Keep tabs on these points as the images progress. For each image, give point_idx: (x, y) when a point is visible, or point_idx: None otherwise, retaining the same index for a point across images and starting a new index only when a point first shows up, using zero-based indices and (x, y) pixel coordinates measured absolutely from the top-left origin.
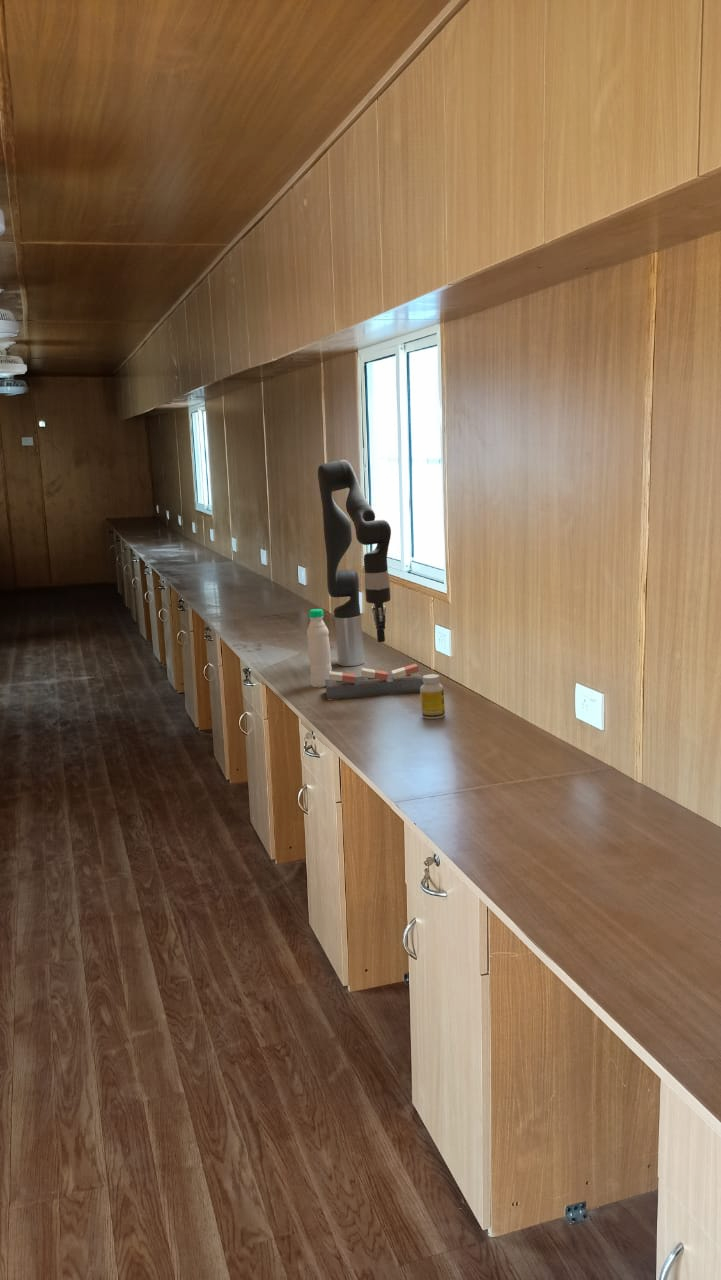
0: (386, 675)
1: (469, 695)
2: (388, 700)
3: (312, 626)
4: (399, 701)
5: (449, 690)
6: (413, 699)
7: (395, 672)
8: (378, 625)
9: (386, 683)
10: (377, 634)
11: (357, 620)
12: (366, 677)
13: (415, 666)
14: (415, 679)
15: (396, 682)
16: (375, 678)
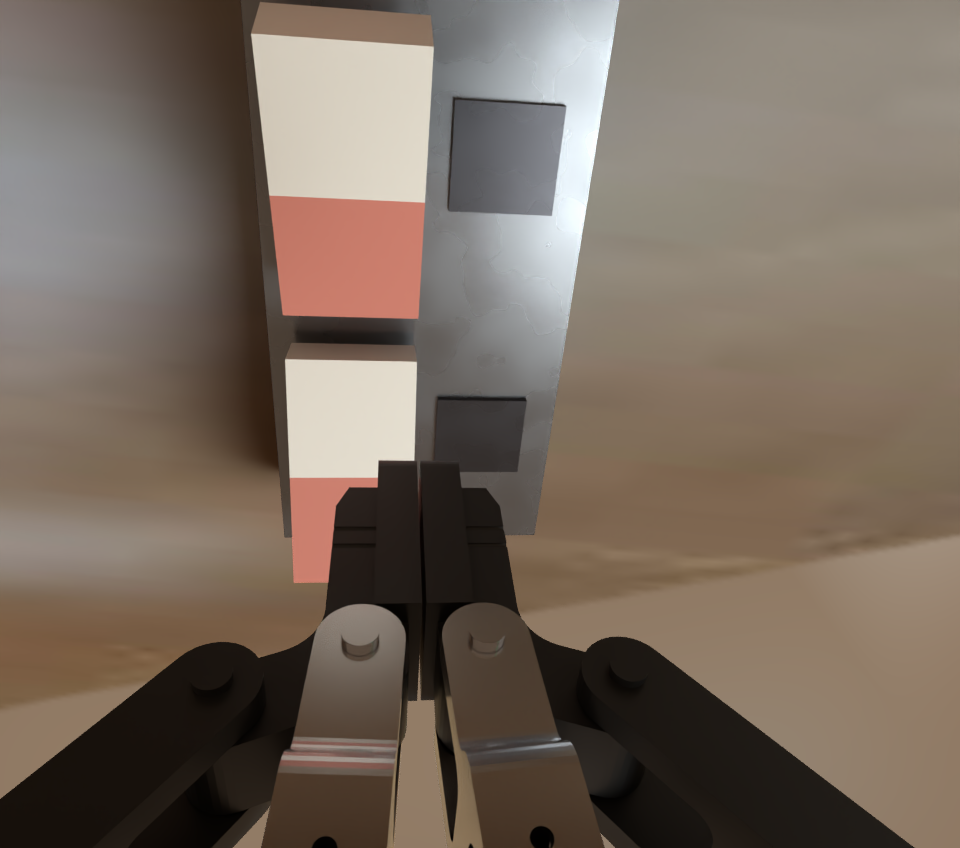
0: (283, 295)
1: (116, 666)
2: (68, 202)
3: None
4: (19, 284)
5: (269, 597)
6: (70, 387)
7: (299, 389)
8: (60, 777)
9: (262, 257)
10: (375, 546)
11: None
12: (539, 88)
13: (304, 567)
14: (281, 488)
15: (271, 344)
16: (450, 178)
